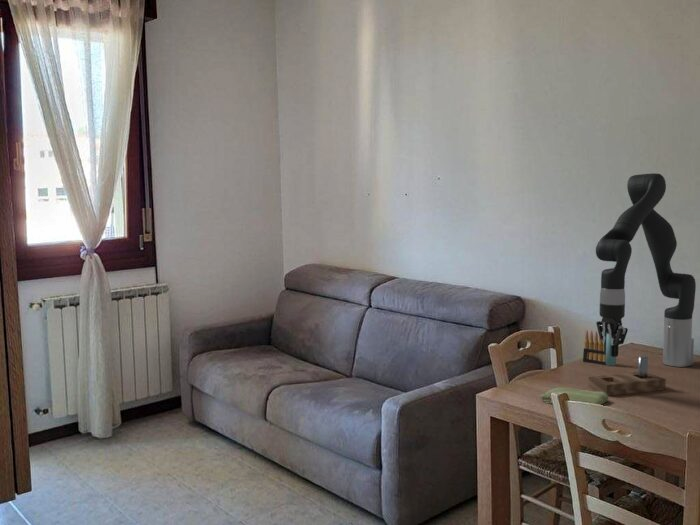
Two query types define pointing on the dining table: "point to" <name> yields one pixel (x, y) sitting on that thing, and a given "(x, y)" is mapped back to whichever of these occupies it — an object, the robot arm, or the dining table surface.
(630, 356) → the dining table surface
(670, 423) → the dining table surface
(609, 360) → the teal peg
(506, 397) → the dining table surface
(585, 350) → the ammunition clip
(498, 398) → the dining table surface
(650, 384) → the hole block
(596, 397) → the washcloth
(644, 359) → the steel peg
